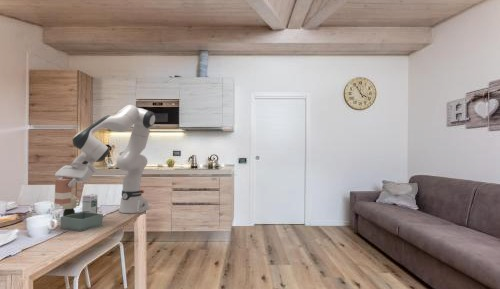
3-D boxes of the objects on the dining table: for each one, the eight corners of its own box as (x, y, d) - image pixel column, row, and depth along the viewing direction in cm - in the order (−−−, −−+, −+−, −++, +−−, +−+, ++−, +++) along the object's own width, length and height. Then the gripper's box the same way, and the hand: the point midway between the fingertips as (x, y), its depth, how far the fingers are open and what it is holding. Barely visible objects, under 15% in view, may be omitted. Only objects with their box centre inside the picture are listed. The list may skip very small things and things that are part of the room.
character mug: (81, 217, 173) (82, 196, 173) (76, 220, 166) (77, 198, 166) (61, 217, 172) (63, 196, 172) (55, 220, 165) (56, 198, 165)
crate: (83, 222, 164) (83, 211, 164) (102, 224, 160) (102, 214, 160) (60, 228, 151) (60, 216, 151) (80, 231, 147) (81, 219, 147)
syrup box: (90, 220, 168) (91, 195, 169) (81, 219, 170) (82, 195, 170) (97, 218, 174) (98, 194, 174) (88, 217, 175) (89, 193, 175)
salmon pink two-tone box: (63, 201, 149) (64, 178, 149) (71, 202, 147) (72, 179, 147) (54, 203, 144) (55, 179, 144) (61, 204, 142) (62, 180, 143)
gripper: (63, 160, 156) (44, 180, 147) (92, 162, 150) (74, 183, 140) (70, 168, 160) (52, 187, 151) (98, 170, 154) (82, 191, 145)
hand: (63, 185), depth 146 cm, fingers closed on salmon pink two-tone box, 5 cm apart
